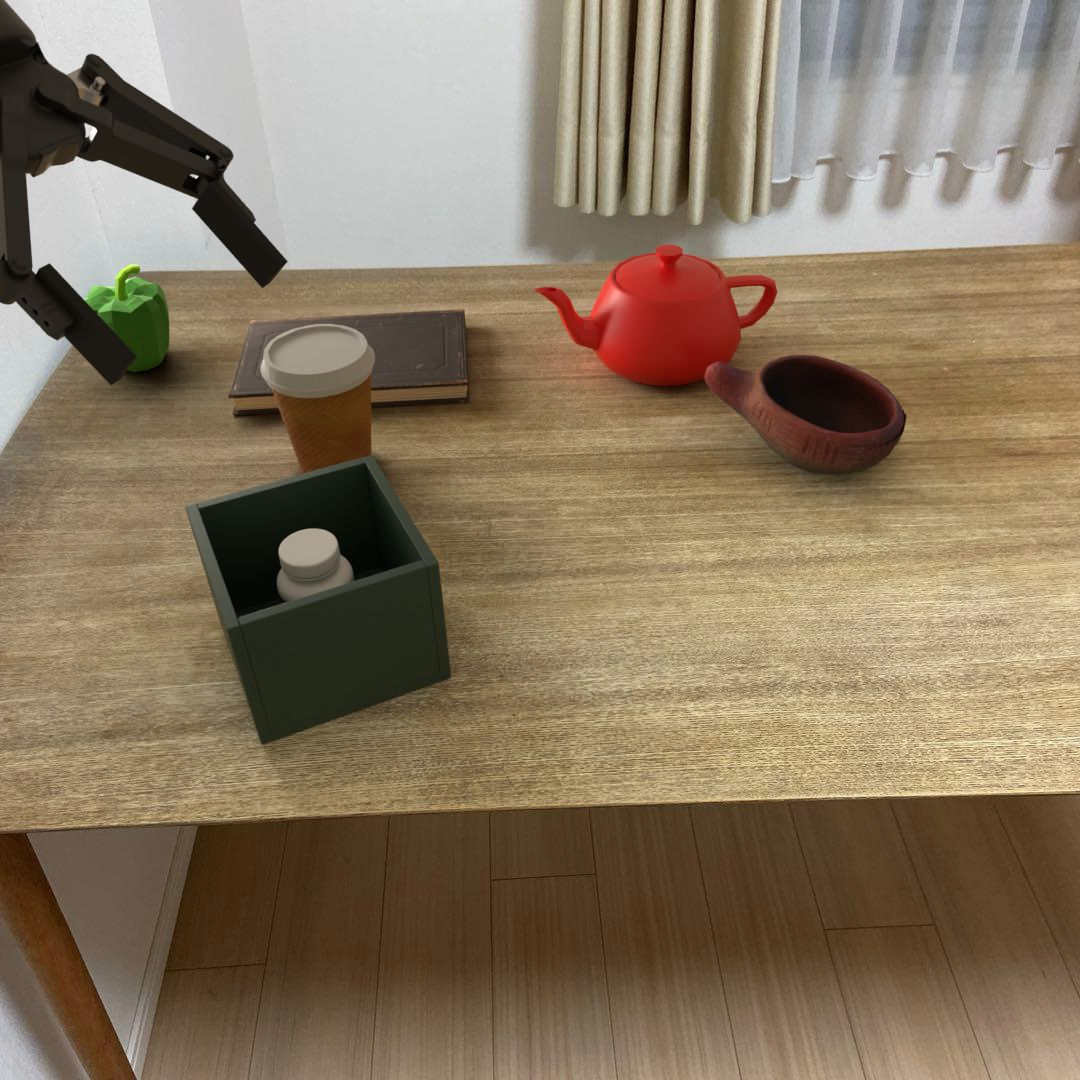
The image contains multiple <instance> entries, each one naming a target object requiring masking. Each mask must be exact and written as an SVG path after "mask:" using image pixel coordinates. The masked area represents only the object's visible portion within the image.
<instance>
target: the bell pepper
mask: <svg viewBox="0 0 1080 1080" xmlns="http://www.w3.org/2000/svg"><path fill="white" fill-rule="evenodd" d="M140 272H141V266H140V265H139V264H129V265H127V266H124V267H123V268H122V269H120V270H119V272H118V273H117V275H116V276H115V279H114V280H115V281H114V282H115V283H114V286H108V285H92V287H91V288H90V290H89V291H88V293H87V294H86V296H85V298H83V299H84V300H85V301H86V302H87V304H88V305H89V306H90V307H91V308H92V309H93V310H94V311H95V312H96V313H97V314H98V315H99V316H100V317H101V319H102V320H103V321H104V322H105V323H106V324H107V325H108V326H109V327H110V328H111V329H112V330H113V331H114V332H115V333H116V335H117V336H118V337H119V338H120V339H121V340H122V341H123V342H124V343H125V344H126V345H127V346H128V347H129V348H130V350H131V351H132V352H133V353H134V354H135V355H136V356H137V357H136V359H135V360H134V362H133V363H132V364H131V366H130V367H129V368H128V370H127V371H128V372H132V373H139V372H145V371H149V370H150V369H154V368H157V367H158V366H160V365H161V363H162V362H163V360H164V359H165V355H166V354H167V353H168V350H169V348H170V313H169V311H170V309H169V306H168V301H167V297H166V294H165V291H164V290H163V288H162V287H161V286H160V285H159V283H158V282H148V281H147V280H145V279H143V278H141V277H139V276H137V275H139V274H140ZM133 275H136V276H134V277H130V276H133ZM129 277H130V278H129Z"/></svg>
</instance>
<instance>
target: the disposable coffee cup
mask: <svg viewBox="0 0 1080 1080" xmlns="http://www.w3.org/2000/svg"><path fill="white" fill-rule="evenodd" d="M374 363H375V354H374V351H373V349H372V348H371V347H370V346H369V345H368V342H367V340H366V338H365V337H364V335H363V334H362V333H360V332H359V331H357V330H356V329H353V328H350V327H347V326H343V325H335V324H315V325H308V326H304V327H299V328H295V329H292V330H289V331H287V332H284V333H282V334H280V335H278V336H277V337H275V338H274V339H273V340H271V341H270V342H269V343H268V345H267V346H266V348H265V349H264V355H263V360H262V363H261V374H262V376H263V378H264V379H265V381H266V382H267V383H268V385H269V386H270V387H271V388H272V392H273V394H274V397H275V399H276V403H277V405H278V408H279V410H280V413H279V414H280V416H281V418H282V422H283V424H284V426H285V429H286V432H287V436H288V438H289V440H290V444H291V445H292V448H293V451H294V454H295V457H296V459H297V462H298V466H299V468H300V470H301V474H303V473H307V472H311V471H314V470H318V469H322V468H325V467H329V466H333V465H336V464H340V463H344V462H347V461H351V460H355V459H358V458H362V457H366V456H369V455H372V408H371V372H372V369H373V365H374Z"/></svg>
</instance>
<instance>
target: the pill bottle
mask: <svg viewBox="0 0 1080 1080" xmlns="http://www.w3.org/2000/svg"><path fill="white" fill-rule="evenodd" d="M279 558H280V564H281V567H282V568H281V570H280V572H279V574H278V577H277V589H278V593H279V597H280V601H281V604H283V603H286V602H289V601H293V600H296V599H299V598H302V597H305V596H309V595H312V594H315V593H318V592H321V591H325V590H328V589H331V588H334V587H337V586H340V585H344V584H347V583H350V582H353V581H355V579H354V574H353V570H352V567H351V565H350V563H349V562H348V560H347V559H346V558H345V557H343V556H342V555H340V550H339V546H338V542H337V539H336V538H335V536H334V535H333V534H332V533H330V532H328V531H326V530H322V529H305V530H301V531H297V532H295V533H293V534H291V535H289V536H288V537H287V538H285V539H284V540H283V542H282V543H281V545H280V547H279Z"/></svg>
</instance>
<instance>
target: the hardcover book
mask: <svg viewBox="0 0 1080 1080" xmlns="http://www.w3.org/2000/svg"><path fill="white" fill-rule="evenodd" d="M465 312H466V311H465V309H463V308H461V309H460V308H459V309H443V310H442V309H441V310H420V311H403V312H384V313H383V312H382V313H366V314H365V313H363V314H345V315H343V314H342V315H326V316H308V317H307V316H306V317H287V318H269V319H251V320H250V322H249V326H248V329H247V332H246V336H245V338H244V342H243V346H242V349H241V352H240V355H239V359H238V362H237V365H236V368H235V372H234V375H233V379H232V382H231V386H230V389H229V392H228V395H227V397H228V399H230V400H231V399H232V400H233V403H234V406H233V410H232V416H247V415H266V414H267V415H268V414H281V413H280V410H279V408H278V405H277V403H276V399H275V397H274V394H273V392H272V388H271V387H270V386H269V385H268V383H267V382H266V381H265V379H264V378H263V376H262V374H261V363H262V360H263V355H264V349H265V348H266V346H267V345H268V343H269V342H270V341H271V340H273V339H274V338H275V337H277V336H278V335H280V334H282V333H284V332H287V331H289V330H292V329H295V328H299V327H304V326H308V325H315V324H335V325H343V326H347V327H350V328H353V329H356V330H357V331H359V332H360V333H362V334H363V335H364V337H365V338H366V340H367V342H368V345H369V346H370V347H371V348H372V349H373V351H374V354H375V363H374V365H373V369H372V372H371V409H372V408H385V407H386V408H388V407H406V406H408V407H409V406H424V405H441V404H458V403H459V404H460V403H469V402H470V391H469V389H470V388H469V369H468V368H469V367H468V345H467V326H466V313H465Z"/></svg>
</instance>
